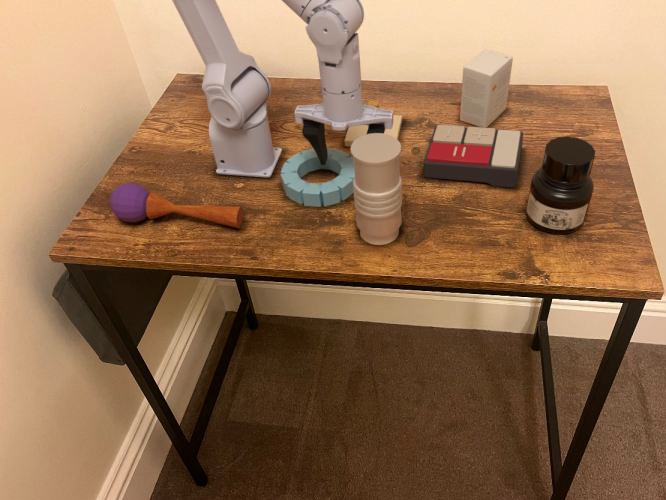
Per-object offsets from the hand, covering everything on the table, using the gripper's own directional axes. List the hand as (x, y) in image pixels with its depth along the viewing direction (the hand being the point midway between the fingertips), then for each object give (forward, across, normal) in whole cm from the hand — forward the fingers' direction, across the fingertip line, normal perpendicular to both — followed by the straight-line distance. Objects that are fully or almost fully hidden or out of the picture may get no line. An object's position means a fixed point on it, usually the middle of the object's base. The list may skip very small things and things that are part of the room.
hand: (348, 163), depth 98 cm
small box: (+5, +21, +23) cm, 31 cm away
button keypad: (+5, +20, +8) cm, 22 cm away
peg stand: (+4, +2, +15) cm, 16 cm away
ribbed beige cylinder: (+4, +6, -10) cm, 13 cm away
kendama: (+4, -24, -12) cm, 28 cm away
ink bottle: (+5, +33, -4) cm, 33 cm away
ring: (+4, -5, 0) cm, 7 cm away
